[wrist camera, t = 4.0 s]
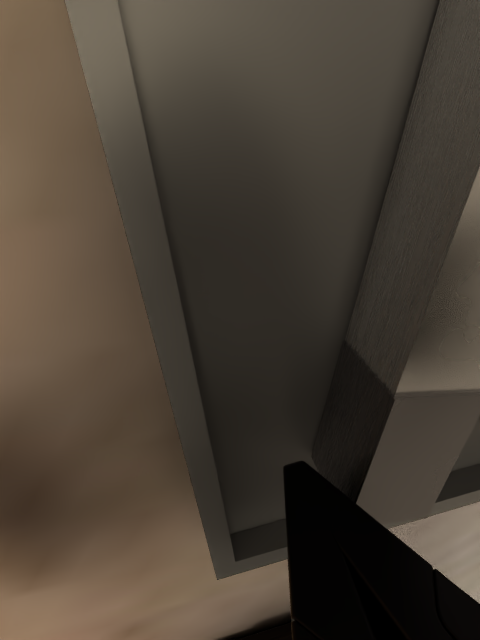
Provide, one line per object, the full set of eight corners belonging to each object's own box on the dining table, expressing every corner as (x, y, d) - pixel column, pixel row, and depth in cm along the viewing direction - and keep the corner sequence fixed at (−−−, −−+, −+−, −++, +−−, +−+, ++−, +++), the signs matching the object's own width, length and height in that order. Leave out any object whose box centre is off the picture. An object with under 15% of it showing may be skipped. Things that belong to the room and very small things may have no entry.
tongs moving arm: (380, 450, 11) (427, 517, 9) (310, 456, 10) (346, 529, 9) (574, -59, 6) (756, -129, 4) (463, -95, 6) (616, -192, 4)
